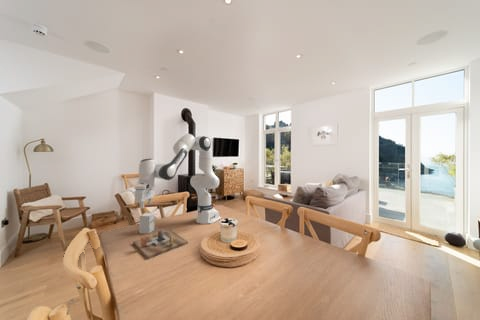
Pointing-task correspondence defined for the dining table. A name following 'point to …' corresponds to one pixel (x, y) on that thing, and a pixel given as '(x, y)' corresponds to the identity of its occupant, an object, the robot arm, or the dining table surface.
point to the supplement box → (146, 223)
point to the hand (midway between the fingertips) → (145, 206)
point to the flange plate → (153, 241)
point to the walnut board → (165, 247)
